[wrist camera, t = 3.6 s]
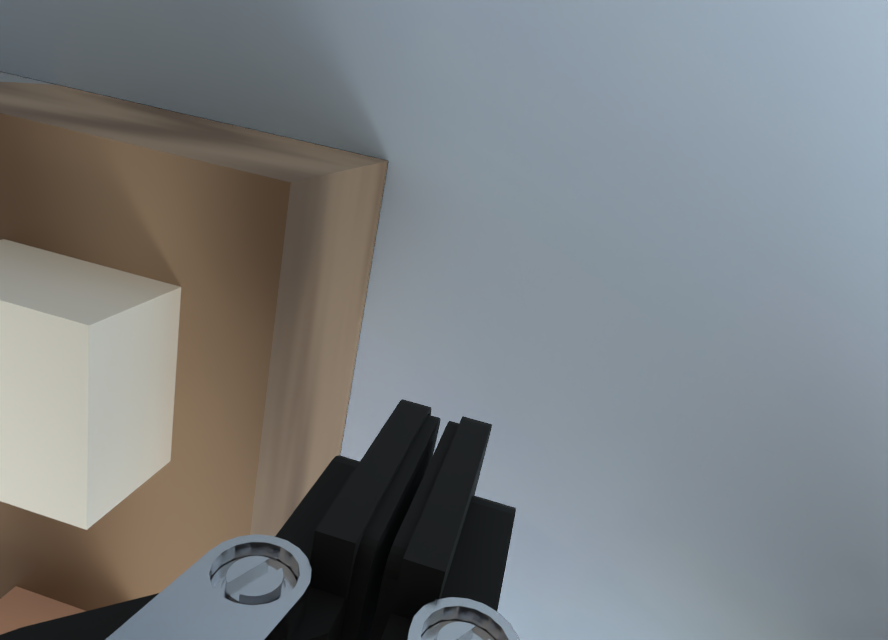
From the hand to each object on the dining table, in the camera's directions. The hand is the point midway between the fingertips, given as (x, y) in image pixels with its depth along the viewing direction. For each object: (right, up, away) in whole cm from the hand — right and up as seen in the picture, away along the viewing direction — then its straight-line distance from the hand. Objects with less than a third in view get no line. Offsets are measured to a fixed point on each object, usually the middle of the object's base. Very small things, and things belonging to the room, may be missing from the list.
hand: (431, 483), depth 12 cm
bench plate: (-8, 0, +9) cm, 12 cm away
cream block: (-7, +2, +2) cm, 8 cm away
